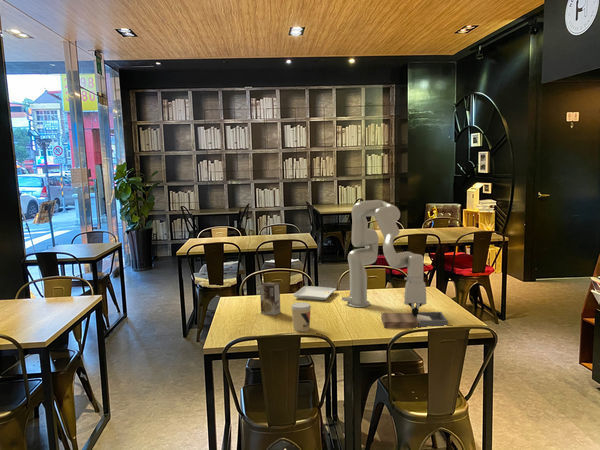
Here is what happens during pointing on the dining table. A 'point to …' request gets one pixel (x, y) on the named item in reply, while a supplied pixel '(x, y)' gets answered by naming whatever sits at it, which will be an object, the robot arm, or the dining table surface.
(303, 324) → the coffee cup
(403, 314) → the flat wooden board
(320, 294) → the salad plate
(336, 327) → the dining table surface
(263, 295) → the coffee box
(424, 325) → the tray
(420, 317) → the tile
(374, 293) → the dining table surface
